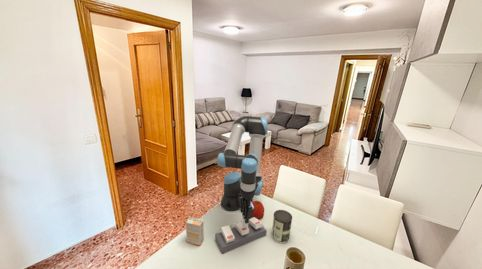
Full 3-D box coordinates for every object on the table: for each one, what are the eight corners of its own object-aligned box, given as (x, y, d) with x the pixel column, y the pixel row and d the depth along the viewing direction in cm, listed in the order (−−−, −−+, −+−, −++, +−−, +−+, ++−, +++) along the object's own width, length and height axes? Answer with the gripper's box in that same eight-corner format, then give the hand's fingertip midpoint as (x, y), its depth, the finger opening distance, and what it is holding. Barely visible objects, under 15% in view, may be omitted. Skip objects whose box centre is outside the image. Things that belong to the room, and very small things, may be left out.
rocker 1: (220, 230, 105) (221, 227, 104) (228, 227, 107) (228, 224, 106) (226, 243, 99) (227, 240, 98) (234, 240, 101) (234, 237, 100)
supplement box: (204, 239, 106) (204, 219, 102) (200, 246, 101) (199, 225, 98) (190, 236, 108) (190, 216, 104) (186, 242, 103) (185, 222, 100)
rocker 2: (235, 227, 110) (235, 223, 109) (241, 224, 112) (241, 220, 111) (242, 235, 103) (242, 231, 102) (248, 232, 105) (249, 228, 104)
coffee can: (289, 231, 115) (291, 211, 112) (289, 244, 105) (292, 223, 102) (271, 228, 117) (274, 208, 113) (271, 241, 107) (273, 219, 104)
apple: (257, 209, 134) (258, 195, 131) (267, 217, 126) (268, 204, 123) (245, 213, 129) (246, 200, 126) (254, 223, 120) (255, 208, 118)
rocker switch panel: (215, 239, 106) (215, 232, 105) (256, 224, 120) (257, 217, 118) (222, 254, 98) (222, 246, 96) (266, 235, 111) (267, 228, 110)
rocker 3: (248, 223, 114) (248, 219, 114) (254, 221, 116) (254, 216, 116) (255, 229, 107) (255, 224, 107) (262, 226, 109) (262, 222, 109)
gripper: (235, 183, 101) (233, 220, 108) (247, 197, 90) (245, 237, 97) (247, 180, 105) (245, 216, 111) (261, 193, 94) (257, 232, 100)
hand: (245, 226), depth 104 cm, fingers closed
